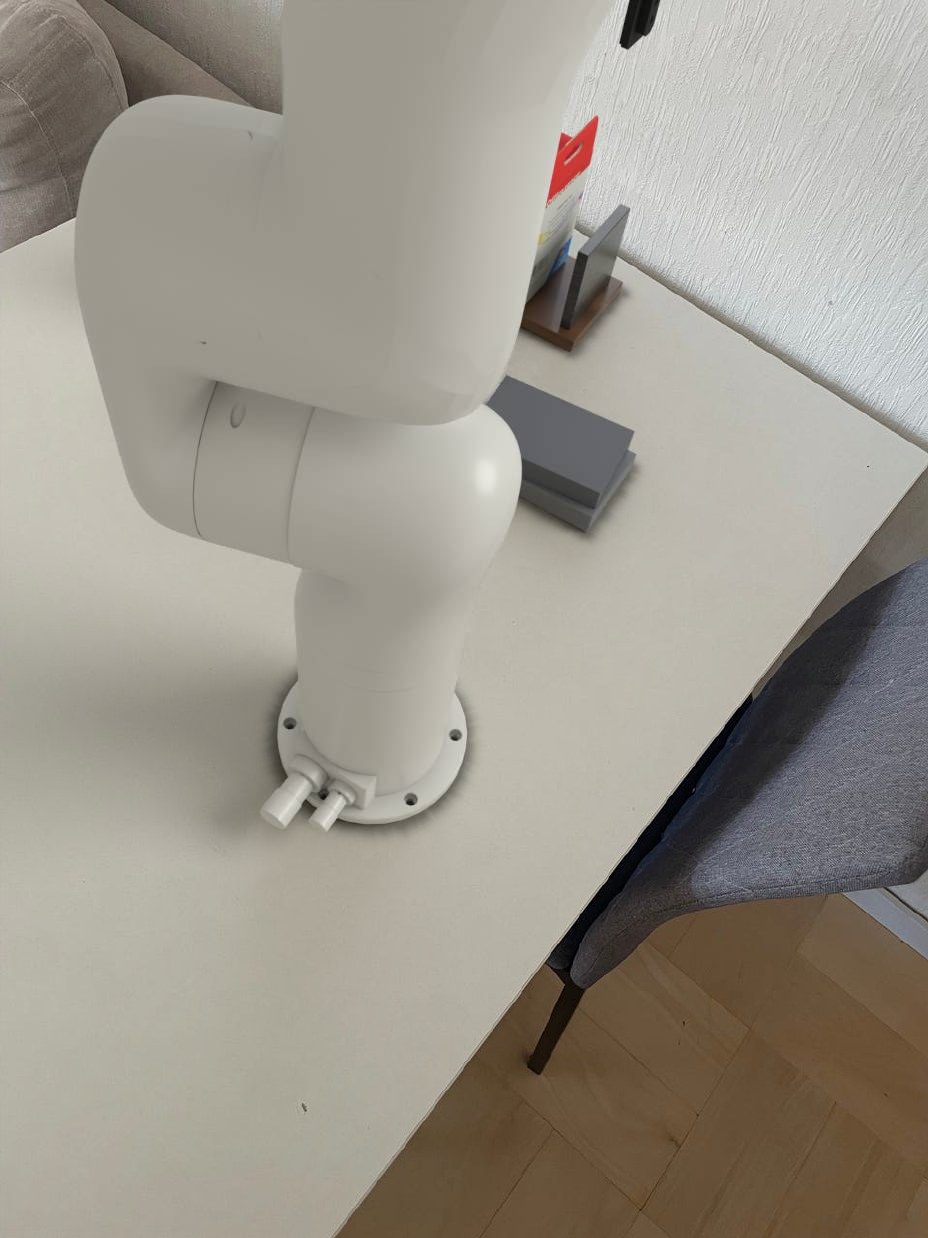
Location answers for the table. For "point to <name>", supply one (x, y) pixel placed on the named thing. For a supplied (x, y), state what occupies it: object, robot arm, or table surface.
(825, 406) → the table surface
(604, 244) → the book rack
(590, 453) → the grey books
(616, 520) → the table surface
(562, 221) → the ink box
